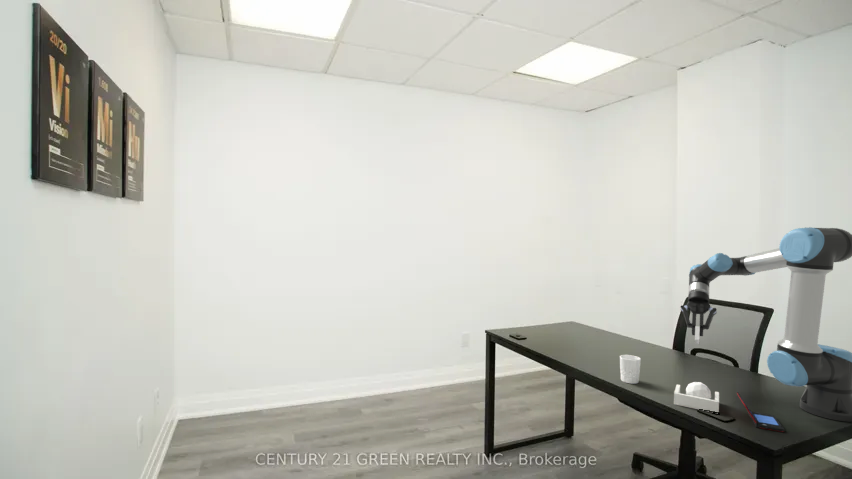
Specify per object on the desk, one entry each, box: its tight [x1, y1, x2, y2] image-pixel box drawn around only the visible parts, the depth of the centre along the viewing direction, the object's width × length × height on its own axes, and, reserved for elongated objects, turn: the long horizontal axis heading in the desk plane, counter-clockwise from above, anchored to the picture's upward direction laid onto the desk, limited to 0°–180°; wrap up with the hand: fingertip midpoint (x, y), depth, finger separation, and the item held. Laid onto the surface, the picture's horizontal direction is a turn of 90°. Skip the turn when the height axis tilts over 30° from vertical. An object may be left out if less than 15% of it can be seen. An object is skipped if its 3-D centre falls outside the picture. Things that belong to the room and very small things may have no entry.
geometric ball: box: [685, 381, 712, 399], centre depth 154 cm, size 8×8×8 cm
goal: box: [673, 384, 720, 412], centre depth 153 cm, size 11×13×4 cm
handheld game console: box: [736, 391, 785, 433], centre depth 139 cm, size 12×11×7 cm
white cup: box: [619, 354, 642, 385], centre depth 176 cm, size 8×8×10 cm
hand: (697, 341), depth 166 cm, fingers closed
